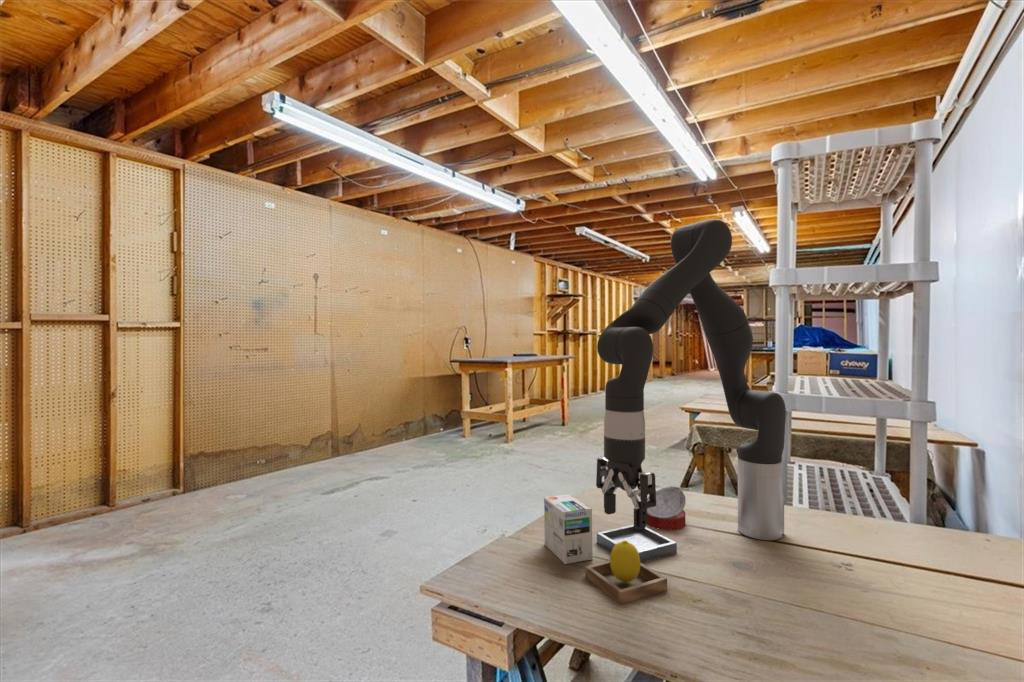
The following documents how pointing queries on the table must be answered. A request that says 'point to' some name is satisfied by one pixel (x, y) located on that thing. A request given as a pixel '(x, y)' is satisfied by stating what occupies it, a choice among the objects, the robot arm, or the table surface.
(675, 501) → the canned food
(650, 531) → the tray
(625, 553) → the lemon
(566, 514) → the light bulb box
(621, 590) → the holder
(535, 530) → the table surface
